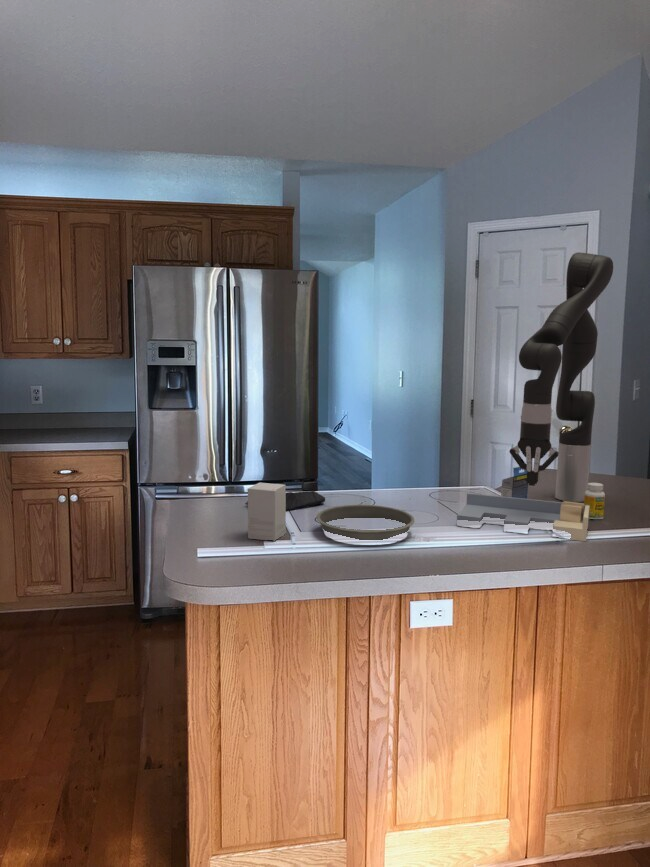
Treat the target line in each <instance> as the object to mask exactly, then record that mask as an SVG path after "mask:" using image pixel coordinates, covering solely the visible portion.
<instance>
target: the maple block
mask: <svg viewBox="0 0 650 867" xmlns="http://www.w3.org/2000/svg"><path fill="white" fill-rule="evenodd" d="M583 510H584V502H569V501H563V503H562V504H561V509H560V520H562V521H569V522H577V523H580V522H581V521H582V519H583Z"/></svg>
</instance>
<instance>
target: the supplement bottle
mask: <svg viewBox="0 0 650 867" xmlns="http://www.w3.org/2000/svg"><path fill="white" fill-rule="evenodd" d="M587 488H588V490H587V491H586V492H585V495H584V501H583V503H584V505H590V506H589V518H590V519H602V520H603V519H604V517H605V516H604V515H605V503H606V494H605V492H604V491H603V490H604V484H603V483H601V482H600V483H599V482H588V487H587ZM590 519H589V520H590Z"/></svg>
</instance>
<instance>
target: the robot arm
mask: <svg viewBox="0 0 650 867" xmlns="http://www.w3.org/2000/svg"><path fill="white" fill-rule="evenodd" d="M613 272H614V262H613V259H612V258H611V257H610V256H606V255H602V254H594V253H587V252H575V253H573V254H572V255H571V257H570V258H569V261H568V264H567V268H566V280H565V281H566V283H565V284H566V287H565V288H566V290H565V291H566V299H565V300H564V301H563V302H561V303H560V304H558V305H557V306H556V307H555V308H553V310H552V311H550V314H549V315H548V317H547V319H546V320H545V322H544V323H543V325H542V327H541V328H540V329H538V330H537V331H536V332H535V333H534V334H533V335H532V336H530V337H529V338H528V339H527V340H526V341H525V342H524V344H523V345H522V347H521V348H520V350H519V353H518V361H519V364H520V366H521V367H522V368H523V369H525V370H527V371H528V370H529V371H539V372H540V374H539V376H538V377H537V378H535V379H529V380H526V381H525V383H524V385H523V386H524V387H523V400H522V408H521V414H520V431H519V441H518V442H517V445H516V446H514V447H511V448H510V449H509V450H508V451H509V454H510V455H511V456H512V457H513V459H514V461H515V462H516V464H517V465H518V467H520V468H521V470H522V469H525V470H526V471H527V479H526V481H527V483H528V486H531V487H532V486H533V487H535V486H536V485H537V484H538V482H539V473H540V472H542V471H545V470H547V468H548V467H550V465H551V464H552V463H553V462H554V461H555V460H556V459H557V464H556V465H557V466H556V467H557V468H556V483H555V495H554V496H555V497H554V498H555V499H557V500H560V501H563V502H564V501H567V502H576V503H584V495H585V492H586V491H587V490H588V488H587V487H588V483H589V476H590V475H589V474H590V460H591V447H592V445H591V444H592V432H593V423H594V421H593V420H594V415H595V407H596V406H595V405H596V397H595V395H594V392H592V391H589V390H574V389H573V390H571V388H572V385H573V383H574V382H575V380H576V379H577V377H578V376H579V375H580V374H581V372H582V371H583V370H584V369H585V368H586V367H587V366H588V365H589V364H590V362H592V359H594V357H595V355H596V352H597V344H598V337H599V336H598V335H599V333H598V332H599V331H598V328H597V324H596V322H595V321H594V319H593V317H592V315H591V313H590V312H589V310H588V309H589V308H590V307H591V306H592V305H593V303H595V301H596V300H597V299H598V298H599V296H600V295H601V294H602V293H603V292H604V290H606V288H607V287H608V285H609V283H610V281H611V280H612V276H613V274H614V273H613ZM559 346H562V347H561V348H562V349H561V348H560V347H559ZM560 366H561V367H560ZM560 368H561V369H560ZM559 369H560V378H559V384H558V390H557V396H556V397H557V398H556V404H555V405H556V406H555V414H556V417H557V420H560V421H564V422H565V421H568V422H581V423H580V425H578V426H577V427H575V428H572V429H570V430H567V431H563V432H561V433H560V434H559V437H558V449H557V450H555V449H554V448H553V447H552V443H551V441H550V440H551V428H552V427H551V425H552V415H553V414H552V411H553V410H552V396H553V395H552V394H553V388H554V384H555V381H556V378H557V374H558V372H559ZM520 452H521V453H522V455H523V457H525V459H526V461H524V460H523V458H522V457H521V455H520ZM547 453H548V458H547V459H546V460H545V461H544V462H543V464H541V459H543V458H544V457H545V456H546V455H547ZM533 460H534V463H533Z"/></svg>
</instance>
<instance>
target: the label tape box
mask: <svg viewBox="0 0 650 867" xmlns="http://www.w3.org/2000/svg"><path fill="white" fill-rule="evenodd" d="M512 470H513V471H512V472H513V473H512V474H513V476H509V477H507V478H503V479H502V480H501V489H500V490H501V491H500V496H503V497H513V498H523V499H528V490H529V483H527V481H526V479H527V471H526V470H525V469H521V468H520V466H516V467H512ZM521 470H522V472H520V471H521Z"/></svg>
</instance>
